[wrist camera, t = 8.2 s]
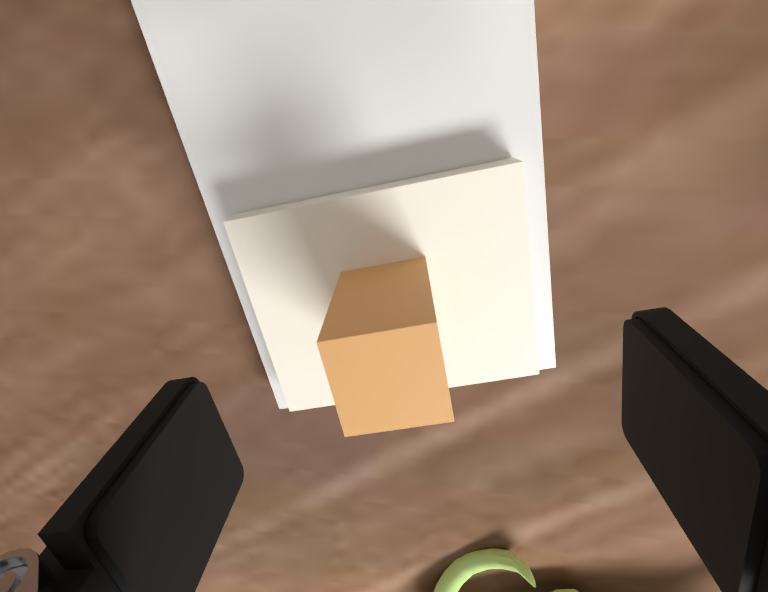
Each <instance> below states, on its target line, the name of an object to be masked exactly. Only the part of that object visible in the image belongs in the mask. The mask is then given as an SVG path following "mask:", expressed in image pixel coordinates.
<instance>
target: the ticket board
mask: <svg viewBox="0 0 768 592" xmlns="http://www.w3.org/2000/svg"><path fill="white" fill-rule="evenodd" d="M131 2H132V5H133V8H134V10H135V13H136V16H137V19H138V21H139V24H140V27H141V30H142V32H143V35H144V38H145V41H146V43H147V46H148V49H149V52H150V54H151V57H152V60H153V63H154V65H155V68H156V71H157V74H158V76H159V79H160V82H161V85H162V87H163V90H164V93H165V96H166V98H167V101H168V104H169V107H170V109H171V112H172V115H173V118H174V120H175V123H176V126H177V129H178V131H179V134H180V137H181V140H182V142H183V145H184V148H185V151H186V153H187V156H188V159H189V162H190V164H191V167H192V170H193V173H194V175H195V178H196V181H197V183H198V186H199V189H200V192H201V194H202V197H203V200H204V203H205V205H206V208H207V211H208V214H209V216H210V219H211V222H212V225H213V227H214V230H215V233H216V236H217V238H218V241H219V244H220V247H221V249H222V252H223V255H224V258H225V260H226V263H227V266H228V269H229V271H230V274H231V277H232V280H233V282H234V285H235V288H236V291H237V293H238V296H239V299H240V302H241V304H242V307H243V310H244V313H245V315H246V318H247V321H248V324H249V326H250V329H251V332H252V335H253V337H254V340H255V343H256V346H257V348H258V351H259V354H260V357H261V359H262V362H263V365H264V367H265V370H266V373H267V376H268V378H269V381H270V384H271V387H272V389H273V392H274V395H275V398H276V400H277V403H278V406H279V409H284V408H288V405H287V402H286V399H285V396H284V393H283V391H282V388H281V385H280V382H279V379H278V376H277V374H276V371H275V368H274V365H273V362H272V359H271V357H270V354H269V351H268V348H267V345H266V343H265V340H264V337H263V334H262V331H261V328H260V326H259V323H258V320H257V317H256V314H255V311H254V309H253V306H252V303H251V300H250V297H249V294H248V292H247V289H246V286H245V283H244V280H243V278H242V275H241V272H240V269H239V266H238V263H237V261H236V258H235V255H234V252H233V249H232V246H231V244H230V241H229V238H228V235H227V232H226V230H225V227H224V224H223V222H224V221H225V220H227V219H228V218H230V217H232V216H233V215H235V214H238V213H243V212H248V211H253V210H258V209H263V208H268V207H273V206H277V205H282V204H287V203H292V202H297V201H302V200H307V199H312V198H317V197H322V196H326V195H331V194H336V193H341V192H346V191H351V190H356V189H361V188H366V187H371V186H375V185H380V184H385V183H390V182H395V181H400V180H405V179H410V178H415V177H420V176H424V175H429V174H434V173H439V172H444V171H449V170H454V169H459V168H464V167H469V166H473V165H478V164H483V163H488V162H493V161H498V160H503V159H508V158H513V157H514V158H516V159H518V160H521V161H523V170H524V183H525V196H526V209H527V222H528V235H529V247H530V260H531V273H532V286H533V299H534V312H535V324H536V337H537V350H538V363H539V370H541V369H548V368H554V367H556V361H555V345H554V328H553V312H552V295H551V278H550V262H549V245H548V228H547V212H546V195H545V179H544V162H543V145H542V129H541V112H540V96H539V79H538V62H537V46H536V29H535V12H534V0H131Z"/></svg>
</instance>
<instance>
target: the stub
mask: <svg viewBox="0 0 768 592" xmlns="http://www.w3.org/2000/svg"><path fill="white" fill-rule="evenodd" d="M223 224H224V227H225V230H226V232H227V235H228V238H229V241H230V244H231V246H232V249H233V252H234V255H235V258H236V261H237V263H238V266H239V269H240V272H241V275H242V278H243V280H244V283H245V286H246V289H247V292H248V294H249V297H250V300H251V303H252V306H253V309H254V311H255V314H256V317H257V320H258V323H259V326H260V328H261V331H262V334H263V337H264V340H265V343H266V345H267V348H268V351H269V354H270V357H271V359H272V362H273V365H274V368H275V371H276V374H277V376H278V379H279V382H280V385H281V388H282V391H283V393H284V396H285V399H286V402H287V405H288V408H289V410H290V412H291V411H297V410H304V409H311V408H317V407H324V406H331V405H335V406H336V409H337V412H338V416H339V419H340V422H341V426H342V429H343V432H344V436H345V437H348V436H356V435H363V434H370V433H377V432H384V431H391V430H398V429H405V428H412V427H419V426H426V425H433V424H440V423H447V422H454V416H453V411H452V405H451V399H450V393H449V388H450V387H457V386H464V385H470V384H477V383H484V382H490V381H497V380H503V379H510V378H517V377H523V376H530V375H537V374H539V363H538V350H537V337H536V324H535V312H534V299H533V286H532V273H531V260H530V247H529V235H528V222H527V209H526V196H525V183H524V170H523V161H521V160H518V159H516V158H514V157H513V158H508V159H503V160H498V161H493V162H488V163H483V164H478V165H473V166H469V167H464V168H459V169H454V170H449V171H444V172H439V173H434V174H429V175H424V176H420V177H415V178H410V179H405V180H400V181H395V182H390V183H385V184H380V185H375V186H371V187H366V188H361V189H356V190H351V191H346V192H341V193H336V194H331V195H326V196H322V197H317V198H312V199H307V200H302V201H297V202H292V203H287V204H282V205H277V206H273V207H268V208H263V209H258V210H253V211H248V212H243V213H238V214H235V215H233V216H232V217H230V218H228V219H227V220H225V221H224V222H223Z"/></svg>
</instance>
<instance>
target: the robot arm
mask: <svg viewBox="0 0 768 592" xmlns="http://www.w3.org/2000/svg"><path fill="white" fill-rule="evenodd" d="M622 428H623V432H624V434H625V437H626V439H627V441H628V442H629V444H630V446H631V447H632V449H633V450H634V452H635V454H636V455H637V457H638V458H639V460H640V462H641V463H642V465H643V466H644V468H645V470H646V471H647V473H648V474H649V476H650V478H651V479H652V481H653V482H654V484H655V486H656V487H657V489H658V490H659V492H660V494H661V495H662V497H663V498H664V500H665V502H666V503H667V505H668V506H669V508H670V510H671V511H672V513H673V514H674V516H675V518H676V519H677V521H678V522H679V524H680V526H681V527H682V529H683V530H684V532H685V534H686V535H687V537H688V538H689V540H690V542H691V543H692V545H693V546H694V548H695V550H696V551H697V553H698V554H699V556H700V558H701V559H702V561H703V562H704V564H705V566H706V567H707V569H708V570H709V572H710V574H711V575H712V577H713V578H714V580H715V582H716V583H717V585H718V586H719V588H720V590H721V591H722V592H768V391H767V390H766V389H765V388H764V387H763V386H761V385H760V384H759V383H758V382H757V381H755V380H754V379H753V378H752V377H751V376H749V375H748V374H747V373H746V372H745V371H743V370H742V369H741V368H740V367H738V366H737V365H736V364H735V363H734V362H732V361H731V360H730V359H729V358H728V357H726V356H725V355H724V354H723V353H722V352H720V351H719V350H718V349H717V348H716V347H714V346H713V345H712V344H711V343H710V342H708V341H707V340H706V339H705V338H704V337H702V336H701V335H700V334H699V333H698V332H696V331H695V330H694V329H693V328H692V327H690V326H689V325H688V324H687V323H686V322H684V321H683V320H682V319H681V318H680V317H678V316H677V315H676V314H675V313H673V312H672V311H671V310H670V309H668V308H666V307H663V308H656V309H649V310H642V311H636V312H634V313H633V315H632V319H629V320H626V321H625V322H624V326H623V375H622ZM243 477H244V471H243V467H242V464H241V462H240V459H239V457H238V455H237V453H236V450H235V448H234V446H233V444H232V441H231V439H230V437H229V435H228V432H227V430H226V428H225V426H224V423H223V421H222V419H221V417H220V414H219V412H218V410H217V408H216V405H215V403H214V401H213V399H212V397H211V394H210V392H209V390H208V388H207V386H206V384H205V383H203V382H199V380H198V379H197V378H194V377H190V378H183V379H176V380H170V381H168V382H167V383H165V385H164V386H163V387H162V388H161V389H160V390H159V392H158V393H157V394H156V395H155V396H154V398H153V399H152V400H151V401H150V402H149V403H148V405H147V406H146V407H145V408H144V409H143V411H142V412H141V413H140V414H139V415H138V416H137V418H136V419H135V420H134V421H133V422H132V423H131V425H130V426H129V427H128V428H127V429H126V431H125V432H124V433H123V434H122V435H121V436H120V438H119V439H118V440H117V441H116V442H115V444H114V445H113V446H112V447H111V448H110V449H109V451H108V452H107V453H106V454H105V455H104V456H103V458H102V459H101V460H100V461H99V462H98V464H97V465H96V466H95V467H94V468H93V469H92V471H91V472H90V473H89V474H88V475H87V477H86V478H85V479H84V480H83V481H82V482H81V484H80V485H79V486H78V487H77V488H76V489H75V491H74V492H73V493H72V494H71V495H70V497H69V498H68V499H67V500H66V501H65V502H64V504H63V505H62V506H61V507H60V508H59V510H58V511H57V512H56V513H55V514H54V515H53V517H52V518H51V519H50V520H49V521H48V522H47V524H46V525H45V526H44V527H43V528H42V530H41V531H40V532H39V533H38V535H39V537H40V538H41V539H42V541H43V542H44V543H45V545H46V546H47V547H46V548H45V549H44V550H43V552H42V553H41V554H40V555H38V553H37V552H35V551H34V550H32V549H30V548H26V549H16V550H13V551H10V552H6V553H4V554H2V555H0V592H195V590H196V588H197V586H198V584H199V581H200V579H201V577H202V574H203V572H204V570H205V567H206V565H207V563H208V561H209V558H210V556H211V554H212V551H213V549H214V547H215V544H216V542H217V540H218V537H219V535H220V533H221V531H222V528H223V526H224V524H225V521H226V519H227V517H228V514H229V512H230V510H231V507H232V505H233V503H234V501H235V498H236V496H237V494H238V491H239V489H240V487H241V484H242V482H243Z"/></svg>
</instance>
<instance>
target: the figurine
mask: <svg viewBox="0 0 768 592" xmlns="http://www.w3.org/2000/svg"><path fill="white" fill-rule="evenodd" d="M487 569H506V570H510V571H513V572H517V573H519V574H520V575H521V576H522V577H524V578H525V579H526V580H527V581H528V582H529V583H530V584H531V585H532V586H533V587H536V583H535V580H534V577H533V574H532V572H531V570H530V568H529V566H528V565H527V564H526V563H525V562H523V561H522V560H521V559H519V558H518V557H517V556H515V555H514V554H513V553H512V552H510V551H509V550H503V549H496V548H489V549H484V550H478V551H473V552H470V553H468V554H466V555H464V556H462V557H459V558H457V559H456V560H455V561H454V562H453V563H452V564H451V565H450V566H449V567H448V568H447V569H446V570H445V571H444V573H443V574H442V576H441V578H440V579H439V581H438V582H437V584H436V587H435V589H434V592H458V591H459V589H460V588H461V586H462V585H463V583H465V582H466V581H467V580H468V579H469V578H470V577H471V576H472V575H473V574H475V573H478V572H481V571H484V570H487ZM552 592H579V591H577V590H576V589H556V590H554V591H552Z"/></svg>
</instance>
